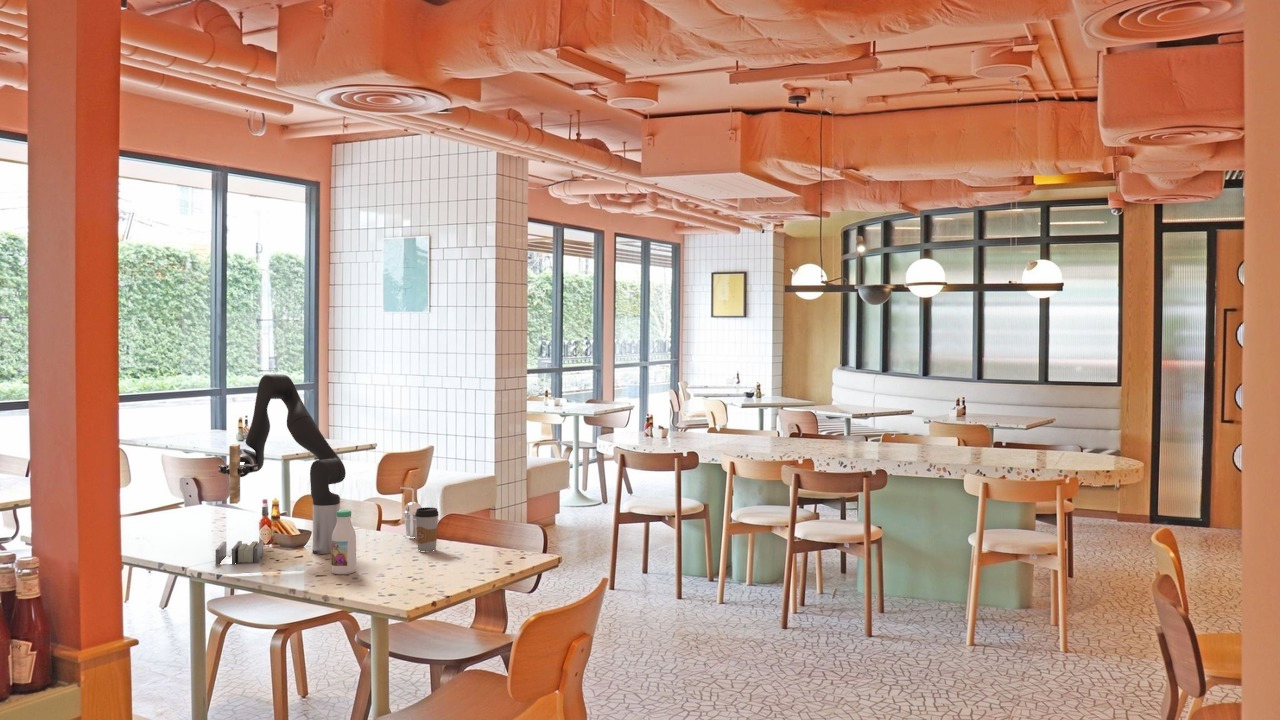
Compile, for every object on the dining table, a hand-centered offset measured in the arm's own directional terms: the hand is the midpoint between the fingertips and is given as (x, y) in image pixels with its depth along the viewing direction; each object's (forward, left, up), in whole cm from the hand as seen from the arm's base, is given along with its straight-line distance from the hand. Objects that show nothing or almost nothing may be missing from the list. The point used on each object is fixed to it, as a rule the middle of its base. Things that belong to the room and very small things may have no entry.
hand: (233, 471), depth 336 cm
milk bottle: (-39, +31, -30) cm, 58 cm away
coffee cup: (-66, +2, -30) cm, 72 cm away
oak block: (0, -3, -11) cm, 11 cm away
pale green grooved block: (-6, +9, -29) cm, 31 cm away
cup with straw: (-61, -23, -30) cm, 71 cm away
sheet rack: (-4, +9, -30) cm, 31 cm away
